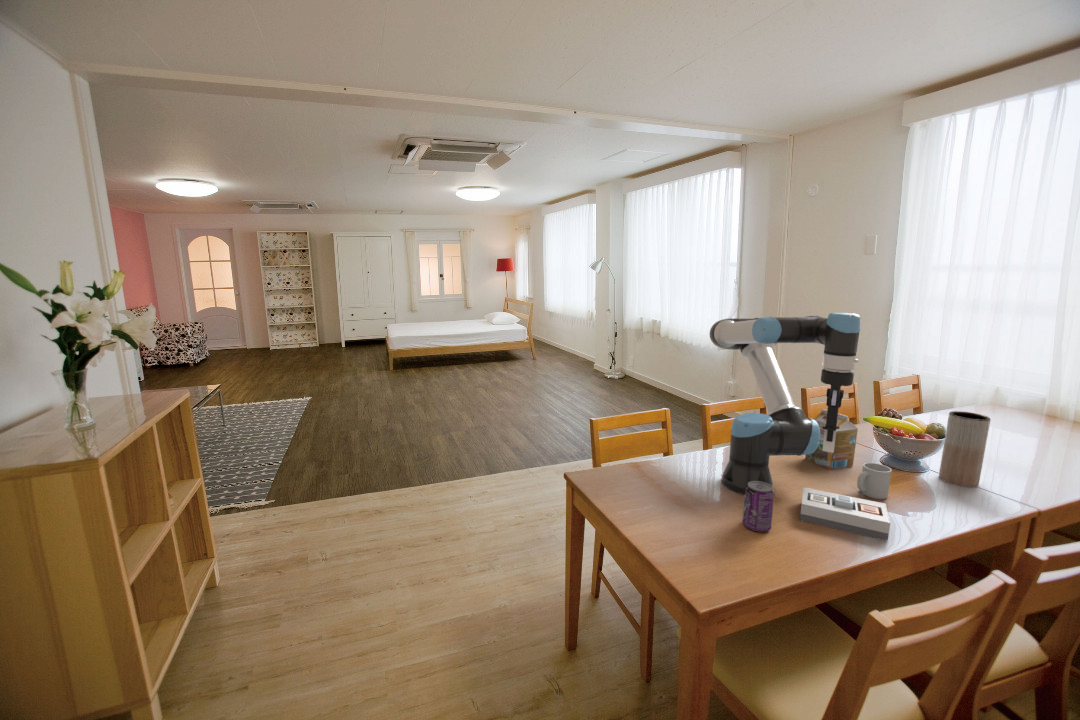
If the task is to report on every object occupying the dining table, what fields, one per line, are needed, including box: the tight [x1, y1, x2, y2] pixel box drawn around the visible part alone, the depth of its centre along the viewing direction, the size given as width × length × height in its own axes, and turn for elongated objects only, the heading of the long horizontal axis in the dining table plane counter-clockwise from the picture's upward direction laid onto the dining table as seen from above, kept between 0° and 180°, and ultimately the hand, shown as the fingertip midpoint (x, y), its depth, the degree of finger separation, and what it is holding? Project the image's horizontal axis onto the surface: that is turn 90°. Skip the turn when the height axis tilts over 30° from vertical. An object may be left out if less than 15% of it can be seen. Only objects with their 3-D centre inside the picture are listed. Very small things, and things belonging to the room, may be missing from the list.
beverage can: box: [742, 481, 775, 533], centre depth 127 cm, size 7×7×12 cm
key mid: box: [834, 493, 853, 509], centre depth 131 cm, size 4×4×3 cm
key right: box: [860, 504, 879, 515], centre depth 128 cm, size 4×4×3 cm
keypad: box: [799, 487, 891, 542], centre depth 131 cm, size 20×12×5 cm, turn 59°
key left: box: [810, 494, 827, 504], centre depth 134 cm, size 4×4×3 cm
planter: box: [938, 410, 991, 488], centre depth 155 cm, size 10×10×23 cm
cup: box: [856, 462, 892, 500], centre depth 146 cm, size 7×10×9 cm
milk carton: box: [805, 408, 858, 471], centre depth 170 cm, size 11×11×19 cm
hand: (828, 450), depth 133 cm, fingers closed
